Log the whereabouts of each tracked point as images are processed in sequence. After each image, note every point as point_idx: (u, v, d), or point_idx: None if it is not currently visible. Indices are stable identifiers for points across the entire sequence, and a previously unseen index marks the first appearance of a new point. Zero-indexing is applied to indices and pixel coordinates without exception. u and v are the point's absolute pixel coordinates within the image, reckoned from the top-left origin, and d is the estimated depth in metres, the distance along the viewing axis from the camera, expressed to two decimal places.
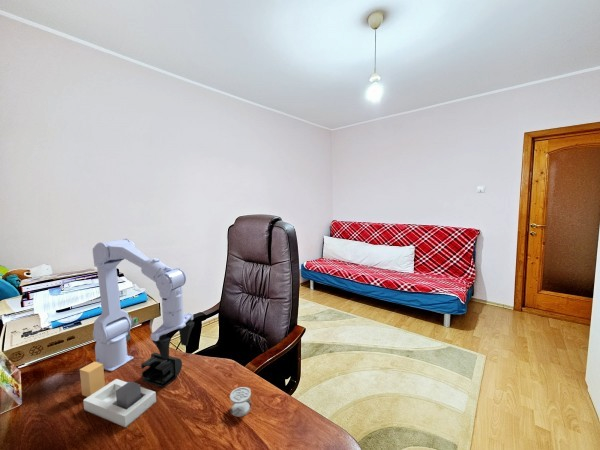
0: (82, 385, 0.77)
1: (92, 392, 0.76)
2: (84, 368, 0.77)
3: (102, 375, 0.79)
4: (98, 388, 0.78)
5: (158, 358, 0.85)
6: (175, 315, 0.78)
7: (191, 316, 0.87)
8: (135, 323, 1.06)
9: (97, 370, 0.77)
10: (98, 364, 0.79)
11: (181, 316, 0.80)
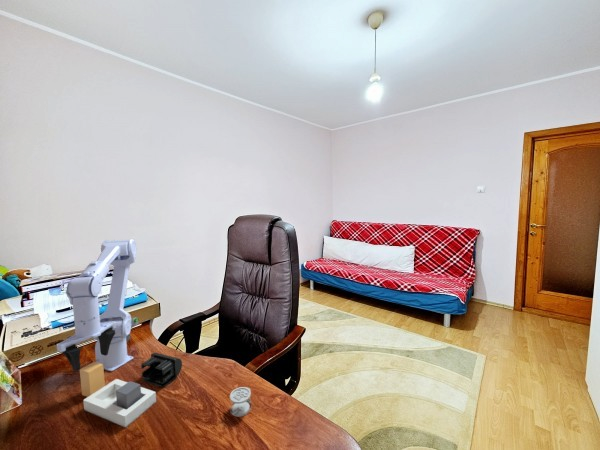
0: (82, 385, 0.77)
1: (92, 392, 0.76)
2: (84, 368, 0.77)
3: (102, 375, 0.79)
4: (98, 388, 0.78)
5: (158, 358, 0.85)
6: (87, 324, 0.74)
7: (113, 324, 0.82)
8: (135, 323, 1.06)
9: (97, 370, 0.77)
10: (98, 364, 0.79)
11: (95, 325, 0.76)
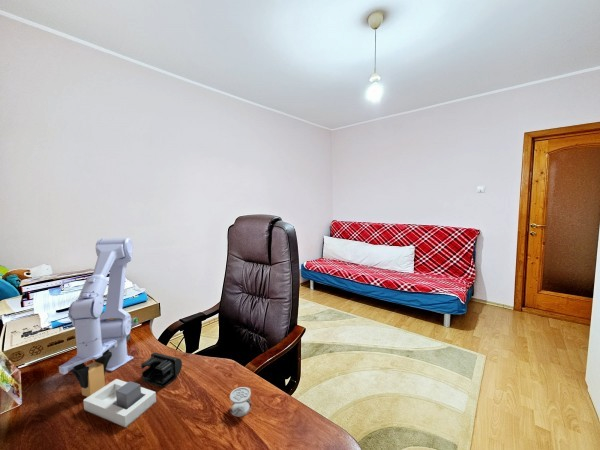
0: None
1: (92, 392, 0.76)
2: None
3: (102, 375, 0.79)
4: (98, 388, 0.78)
5: (158, 358, 0.85)
6: (89, 346, 0.75)
7: (114, 343, 0.83)
8: (135, 323, 1.06)
9: (97, 370, 0.77)
10: (98, 364, 0.79)
11: (97, 346, 0.77)
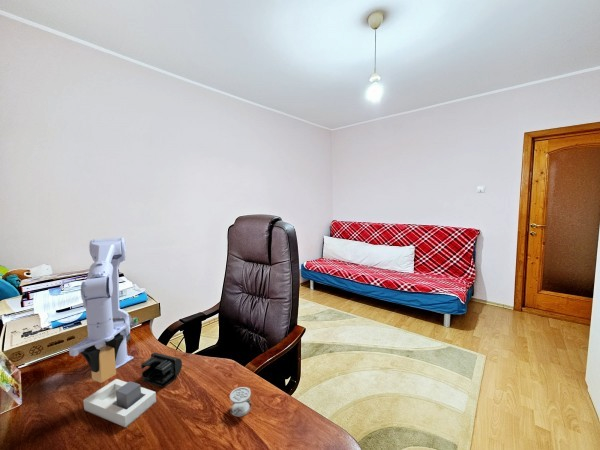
0: None
1: (103, 376, 0.73)
2: None
3: (113, 359, 0.75)
4: (109, 373, 0.74)
5: (158, 358, 0.85)
6: (100, 327, 0.71)
7: (126, 327, 0.79)
8: (135, 323, 1.06)
9: (108, 354, 0.74)
10: (109, 347, 0.75)
11: (109, 328, 0.73)
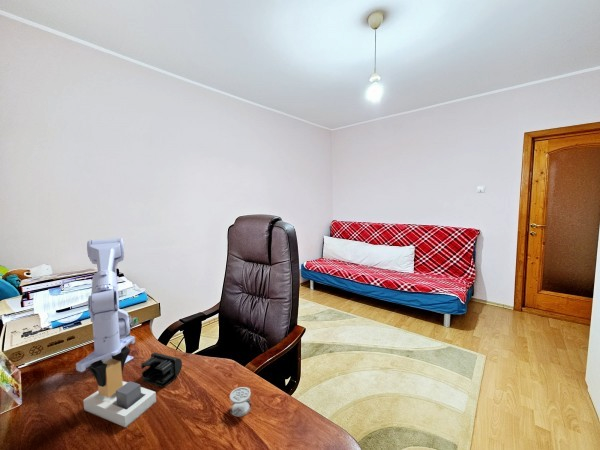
0: None
1: (110, 391, 0.72)
2: None
3: (120, 373, 0.74)
4: (116, 386, 0.73)
5: (158, 358, 0.85)
6: (107, 341, 0.70)
7: (132, 339, 0.78)
8: (135, 323, 1.06)
9: (114, 368, 0.73)
10: (115, 361, 0.74)
11: (115, 341, 0.72)
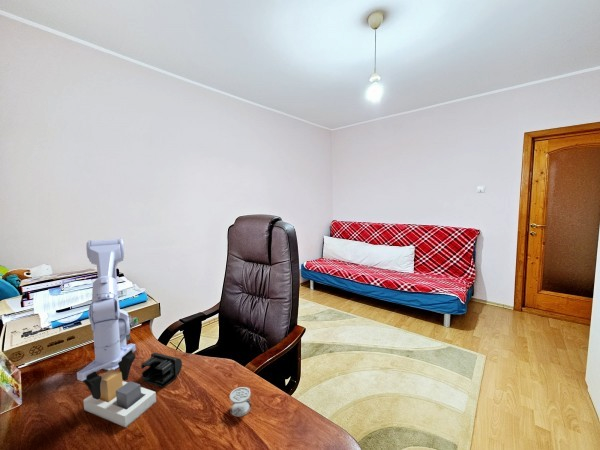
0: None
1: None
2: (102, 376, 0.73)
3: (120, 383, 0.75)
4: None
5: (158, 358, 0.85)
6: (108, 350, 0.71)
7: (132, 347, 0.79)
8: (135, 323, 1.06)
9: (115, 379, 0.73)
10: (116, 372, 0.75)
11: (116, 350, 0.72)
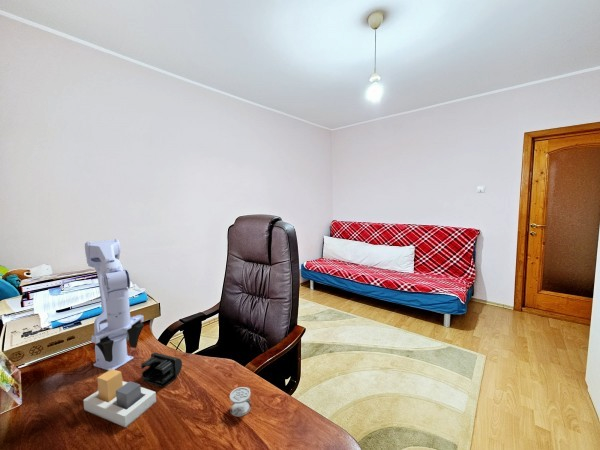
0: (100, 394, 0.73)
1: None
2: (102, 376, 0.73)
3: (120, 383, 0.75)
4: None
5: (158, 358, 0.85)
6: (119, 317, 0.77)
7: (141, 318, 0.85)
8: None
9: (115, 379, 0.73)
10: (116, 372, 0.75)
11: (126, 318, 0.79)
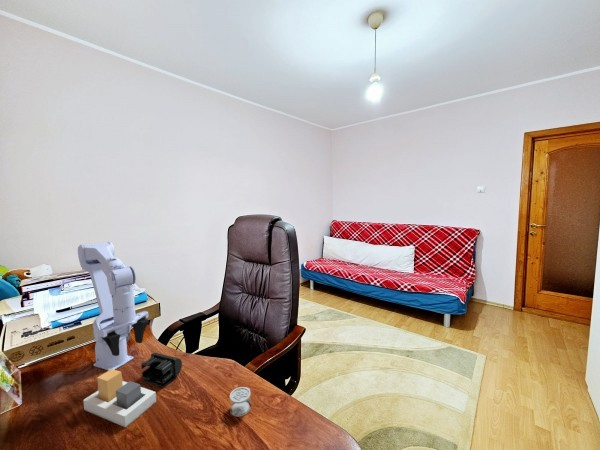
0: (100, 394, 0.73)
1: None
2: (102, 376, 0.73)
3: (120, 383, 0.75)
4: None
5: (158, 358, 0.85)
6: (125, 312, 0.80)
7: (145, 314, 0.88)
8: None
9: (115, 379, 0.73)
10: (116, 372, 0.75)
11: (132, 313, 0.82)
